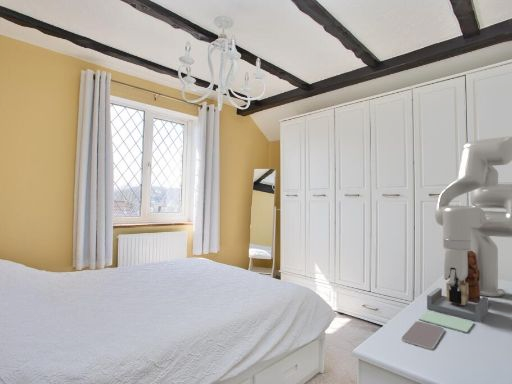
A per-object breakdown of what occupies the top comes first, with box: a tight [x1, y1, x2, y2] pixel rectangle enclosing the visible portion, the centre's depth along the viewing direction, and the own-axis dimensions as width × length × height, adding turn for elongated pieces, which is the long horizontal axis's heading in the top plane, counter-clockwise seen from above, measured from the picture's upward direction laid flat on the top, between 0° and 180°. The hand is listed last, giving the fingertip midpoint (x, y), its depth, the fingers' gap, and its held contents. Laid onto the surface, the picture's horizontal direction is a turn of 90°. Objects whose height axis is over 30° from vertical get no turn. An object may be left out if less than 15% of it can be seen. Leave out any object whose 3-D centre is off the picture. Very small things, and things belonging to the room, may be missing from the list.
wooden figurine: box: [465, 251, 481, 303], centre depth 107 cm, size 12×6×18 cm, turn 129°
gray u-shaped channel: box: [426, 287, 489, 323], centre depth 97 cm, size 12×14×4 cm
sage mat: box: [418, 310, 475, 334], centre depth 88 cm, size 9×12×1 cm
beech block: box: [445, 280, 468, 305], centre depth 97 cm, size 5×5×6 cm
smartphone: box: [400, 320, 445, 351], centre depth 79 cm, size 7×1×15 cm
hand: (457, 299), depth 97 cm, fingers closed on beech block, 5 cm apart
